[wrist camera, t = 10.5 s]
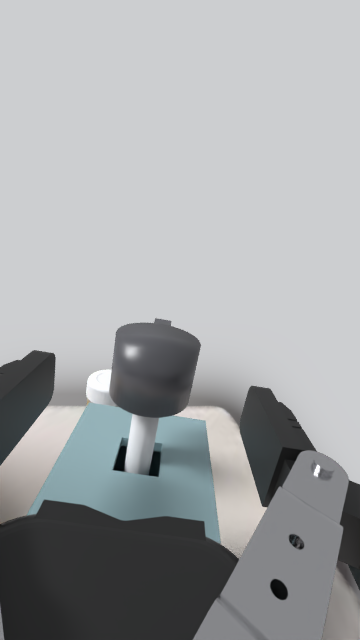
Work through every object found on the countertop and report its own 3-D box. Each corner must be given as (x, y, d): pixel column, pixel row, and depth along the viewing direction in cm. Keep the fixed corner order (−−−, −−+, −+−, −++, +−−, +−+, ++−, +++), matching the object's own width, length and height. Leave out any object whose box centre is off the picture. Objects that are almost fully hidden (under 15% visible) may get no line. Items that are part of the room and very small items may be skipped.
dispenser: (157, 749, 17) (220, 542, 12) (20, 735, 16) (26, 515, 11) (165, 586, 24) (205, 420, 19) (72, 575, 24) (88, 402, 19)
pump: (151, 596, 16) (203, 362, 12) (79, 587, 16) (106, 346, 11) (160, 494, 22) (196, 317, 18) (108, 486, 22) (132, 306, 18)
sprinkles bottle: (114, 499, 31) (130, 393, 27) (72, 495, 31) (82, 387, 27) (120, 466, 36) (134, 370, 32) (83, 462, 35) (93, 365, 31)
